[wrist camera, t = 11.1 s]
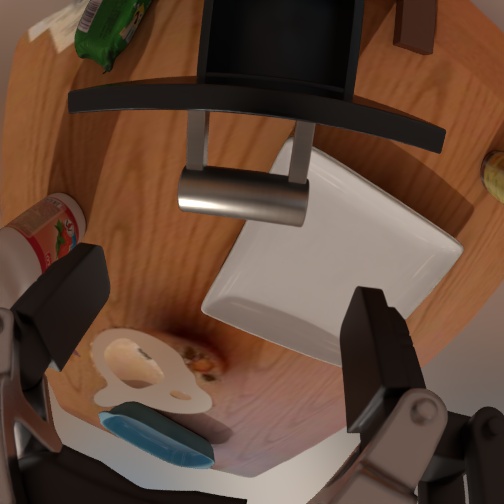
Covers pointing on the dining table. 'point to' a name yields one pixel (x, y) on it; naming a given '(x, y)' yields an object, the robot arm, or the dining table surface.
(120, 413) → the casserole dish
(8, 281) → the fruit juice
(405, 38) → the chocolate bar
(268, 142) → the dining table surface
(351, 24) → the waste bin
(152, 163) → the dining table surface
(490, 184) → the sauce bottle
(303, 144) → the bin lid
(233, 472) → the dining table surface
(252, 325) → the square plate
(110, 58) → the snack package
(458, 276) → the dining table surface
